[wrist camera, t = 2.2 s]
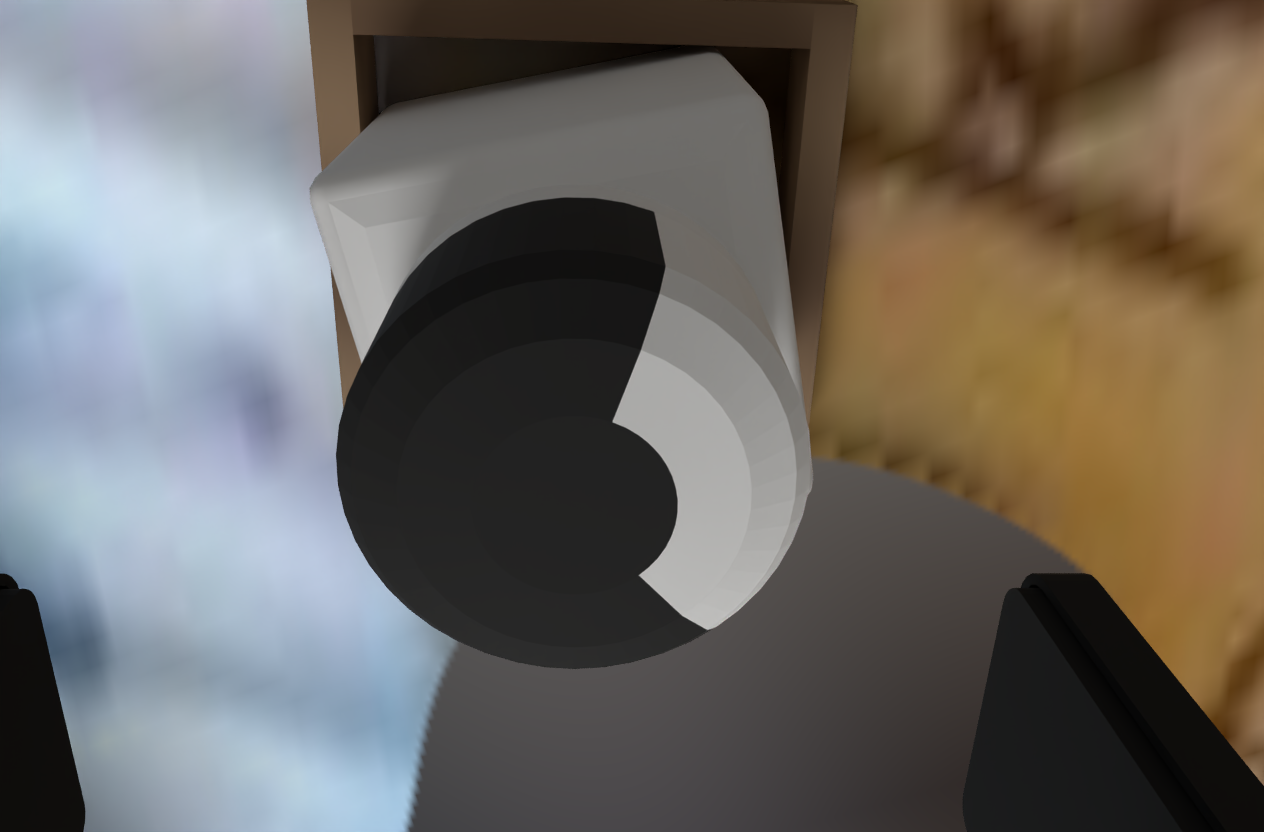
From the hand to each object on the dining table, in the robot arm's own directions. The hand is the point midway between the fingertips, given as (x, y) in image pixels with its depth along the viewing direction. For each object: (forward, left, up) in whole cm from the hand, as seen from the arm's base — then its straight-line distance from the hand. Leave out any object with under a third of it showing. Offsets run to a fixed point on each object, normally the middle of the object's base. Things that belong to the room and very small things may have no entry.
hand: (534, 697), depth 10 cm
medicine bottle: (0, 0, -15) cm, 15 cm away
